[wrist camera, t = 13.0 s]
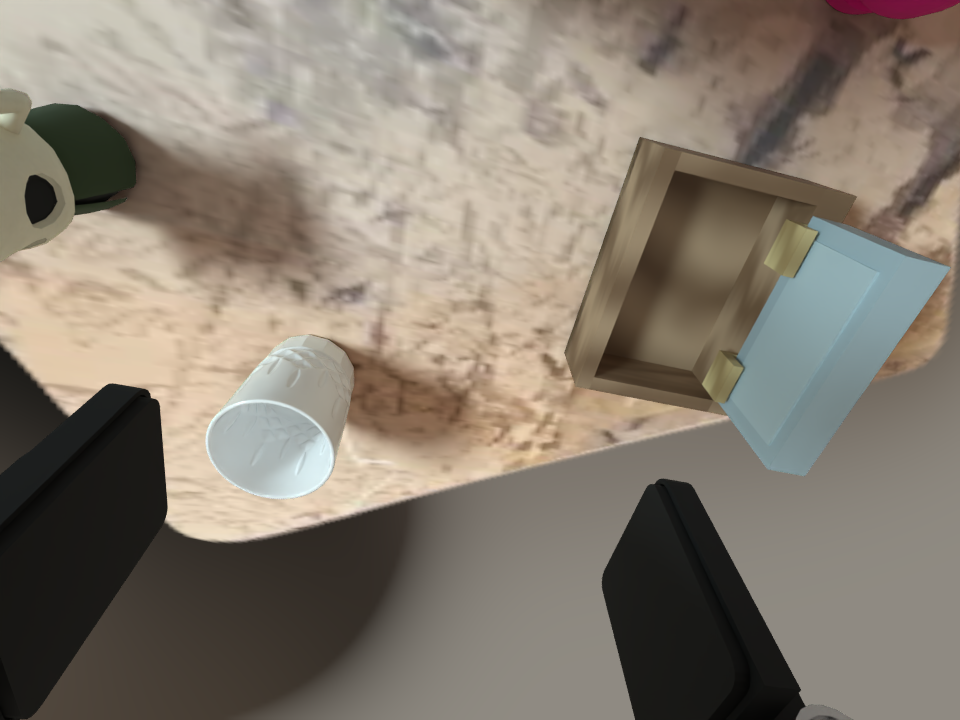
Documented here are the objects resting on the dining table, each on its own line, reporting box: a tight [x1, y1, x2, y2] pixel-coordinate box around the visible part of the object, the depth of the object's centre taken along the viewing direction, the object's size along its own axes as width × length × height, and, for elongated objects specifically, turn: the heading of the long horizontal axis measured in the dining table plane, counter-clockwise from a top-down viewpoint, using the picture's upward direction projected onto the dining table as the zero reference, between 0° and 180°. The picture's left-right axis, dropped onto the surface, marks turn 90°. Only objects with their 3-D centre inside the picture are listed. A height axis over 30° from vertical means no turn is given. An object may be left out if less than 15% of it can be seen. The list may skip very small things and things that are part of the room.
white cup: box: [206, 335, 354, 499], centre depth 37 cm, size 8×8×10 cm
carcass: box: [564, 137, 856, 416], centre depth 35 cm, size 16×13×7 cm
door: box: [718, 216, 951, 476], centre depth 31 cm, size 13×3×8 cm, turn 167°
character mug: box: [0, 89, 136, 262], centre depth 28 cm, size 11×7×13 cm, turn 137°
